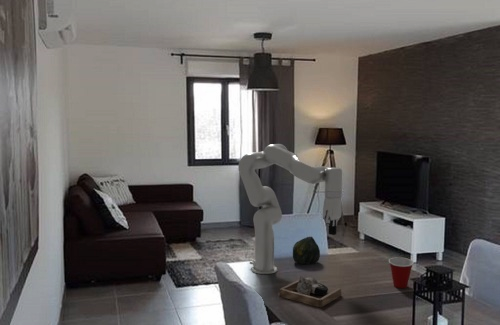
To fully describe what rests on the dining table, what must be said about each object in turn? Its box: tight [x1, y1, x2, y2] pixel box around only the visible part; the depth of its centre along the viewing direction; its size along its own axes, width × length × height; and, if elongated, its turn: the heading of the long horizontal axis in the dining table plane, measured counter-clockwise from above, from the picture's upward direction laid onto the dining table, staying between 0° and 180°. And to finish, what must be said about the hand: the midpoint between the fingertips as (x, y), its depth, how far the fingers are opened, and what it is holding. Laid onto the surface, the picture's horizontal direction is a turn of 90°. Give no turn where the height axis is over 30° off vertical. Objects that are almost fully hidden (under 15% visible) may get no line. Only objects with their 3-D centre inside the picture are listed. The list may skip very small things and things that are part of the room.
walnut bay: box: [278, 279, 342, 308], centre depth 198 cm, size 20×17×3 cm
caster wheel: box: [296, 275, 329, 296], centre depth 201 cm, size 7×11×10 cm
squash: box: [292, 236, 321, 265], centre depth 246 cm, size 14×15×15 cm
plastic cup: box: [388, 256, 415, 289], centre depth 209 cm, size 11×11×12 cm
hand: (332, 234), depth 212 cm, fingers closed
